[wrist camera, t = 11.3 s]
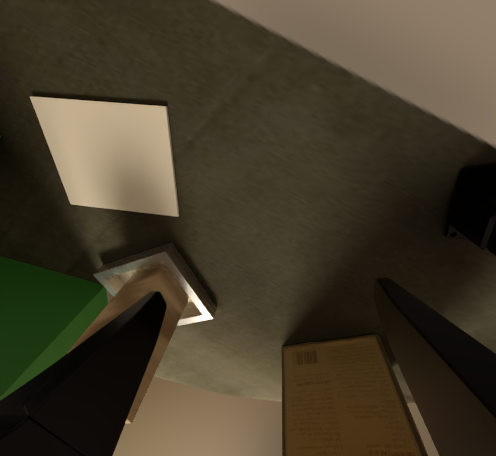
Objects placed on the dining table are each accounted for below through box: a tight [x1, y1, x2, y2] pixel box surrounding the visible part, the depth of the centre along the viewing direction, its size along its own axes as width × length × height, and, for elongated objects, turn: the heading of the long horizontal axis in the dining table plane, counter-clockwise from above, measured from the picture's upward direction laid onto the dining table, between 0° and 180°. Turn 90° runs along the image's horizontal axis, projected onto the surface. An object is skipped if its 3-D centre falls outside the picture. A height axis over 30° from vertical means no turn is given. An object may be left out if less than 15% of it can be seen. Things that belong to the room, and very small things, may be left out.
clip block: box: [66, 267, 188, 423], centre depth 23 cm, size 5×6×14 cm
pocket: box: [93, 242, 217, 326], centre depth 28 cm, size 11×11×2 cm
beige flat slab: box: [30, 96, 180, 217], centre depth 21 cm, size 12×10×1 cm
